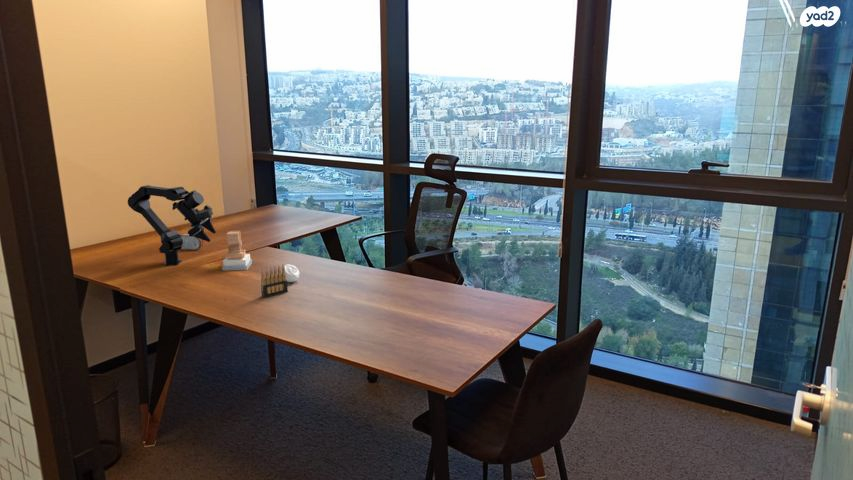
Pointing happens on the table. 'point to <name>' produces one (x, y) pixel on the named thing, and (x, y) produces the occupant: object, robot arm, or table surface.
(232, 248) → the pillar
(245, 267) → the tower base
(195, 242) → the tin
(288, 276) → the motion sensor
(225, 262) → the white square slab
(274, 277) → the ammunition clip
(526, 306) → the table surface
